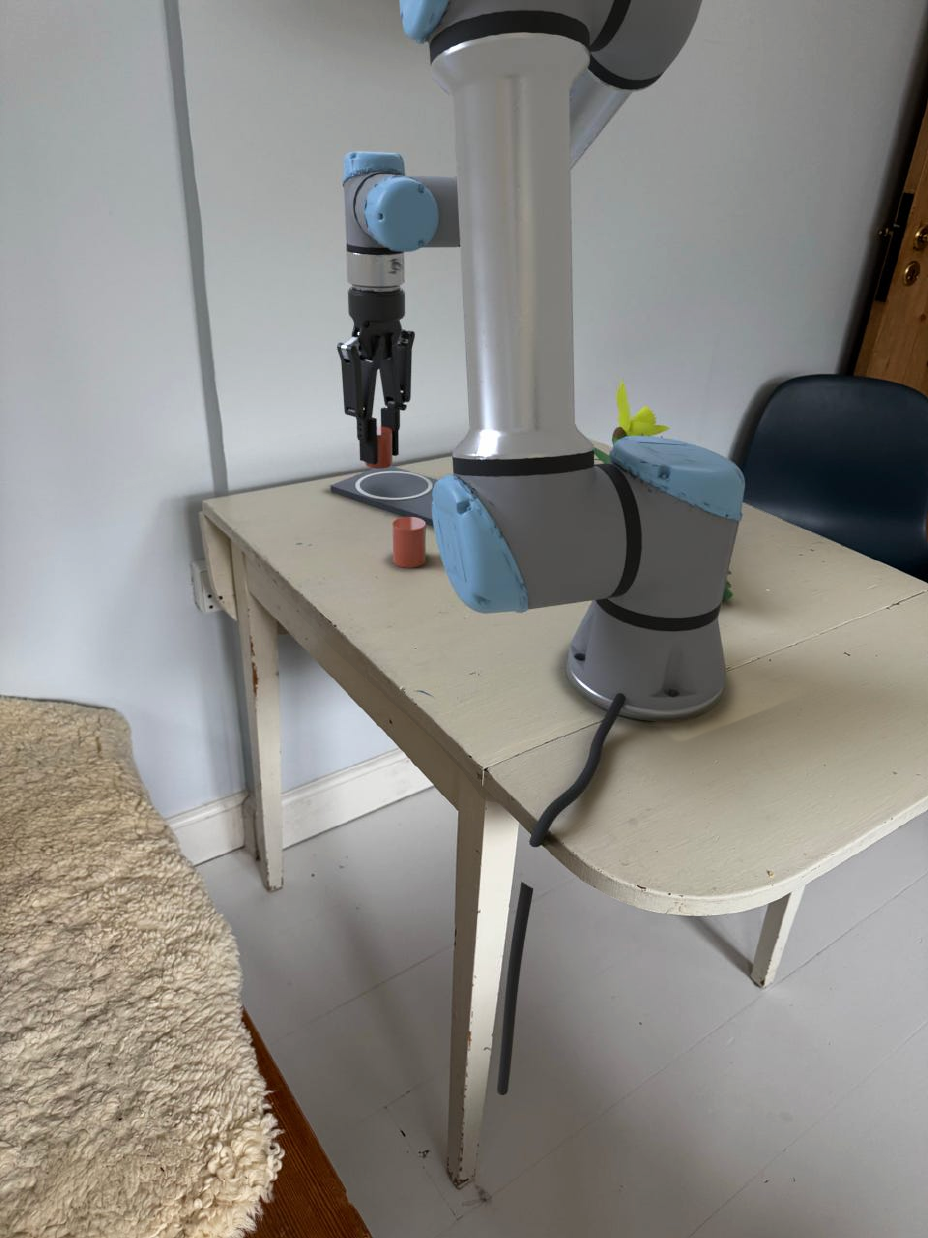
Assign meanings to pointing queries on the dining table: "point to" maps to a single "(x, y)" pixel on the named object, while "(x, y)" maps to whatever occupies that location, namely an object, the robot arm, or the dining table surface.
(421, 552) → the red cylinder block
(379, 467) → the short coral cylinder
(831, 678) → the dining table surface
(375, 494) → the slate board
